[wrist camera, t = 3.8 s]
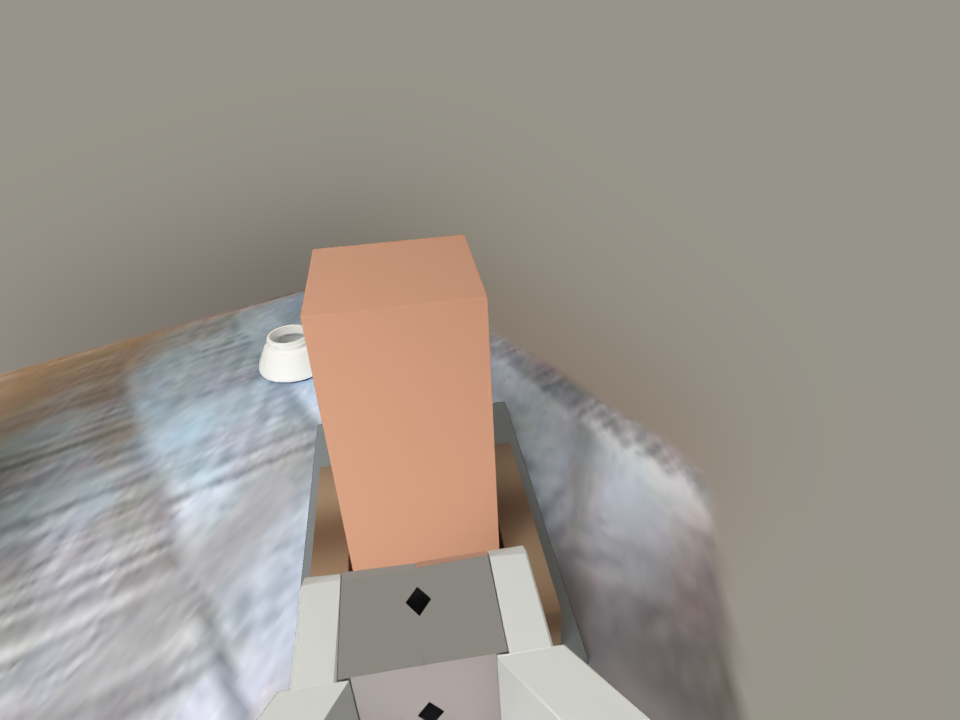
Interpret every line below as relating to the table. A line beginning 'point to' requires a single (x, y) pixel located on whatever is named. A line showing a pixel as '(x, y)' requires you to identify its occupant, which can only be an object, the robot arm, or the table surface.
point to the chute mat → (506, 435)
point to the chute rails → (512, 528)
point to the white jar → (285, 355)
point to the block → (405, 397)
